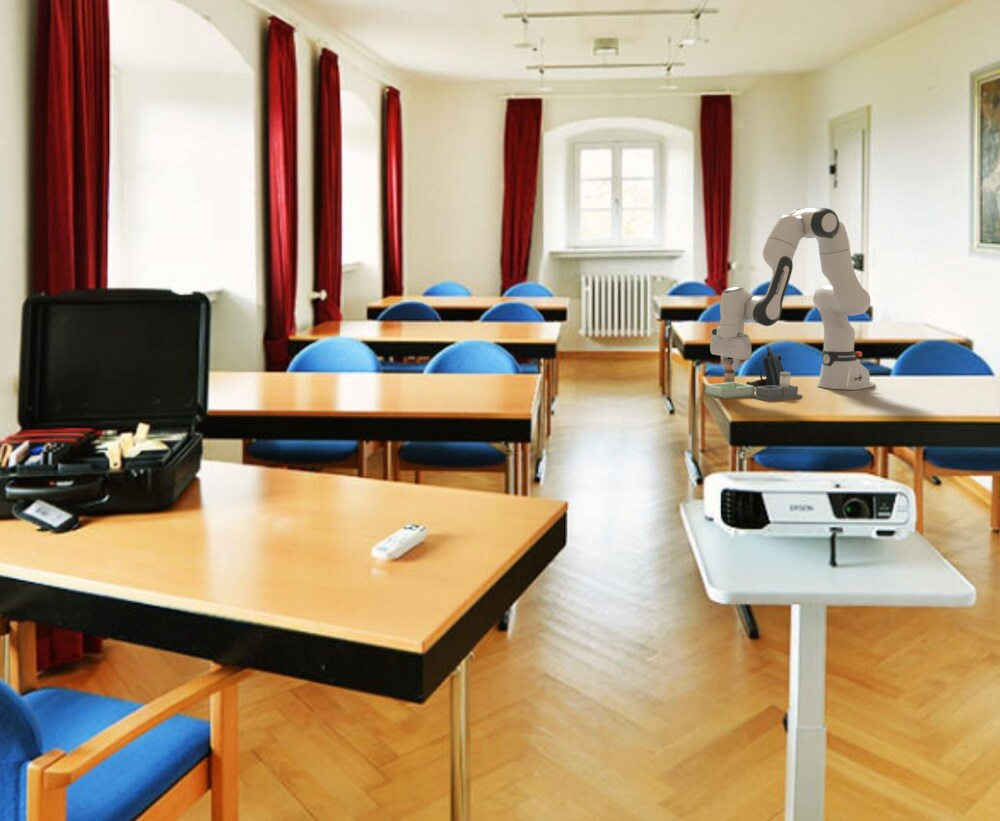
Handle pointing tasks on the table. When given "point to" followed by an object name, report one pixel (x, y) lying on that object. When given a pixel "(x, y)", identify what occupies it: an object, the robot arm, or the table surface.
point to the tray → (729, 390)
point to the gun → (770, 370)
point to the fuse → (784, 379)
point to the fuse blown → (729, 371)
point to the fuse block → (776, 393)
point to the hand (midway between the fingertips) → (729, 369)
